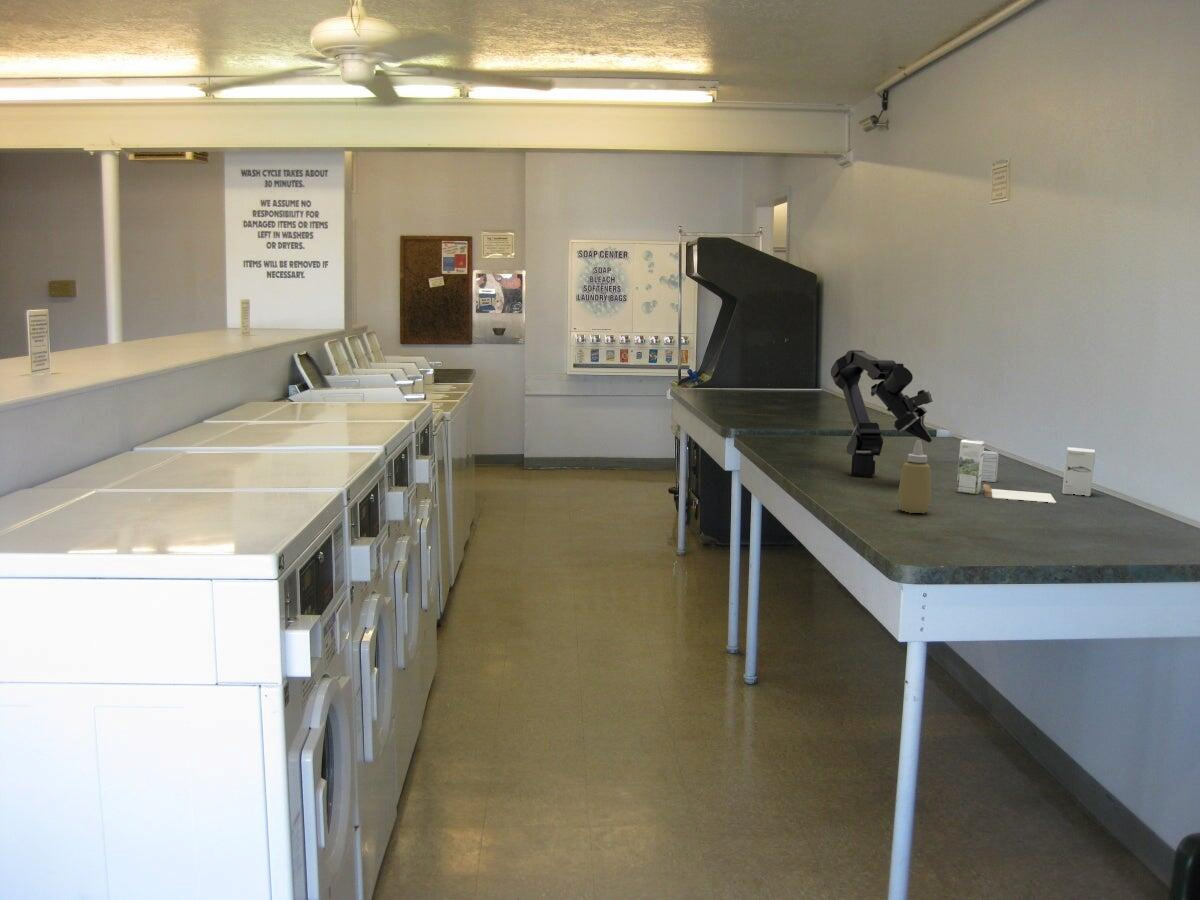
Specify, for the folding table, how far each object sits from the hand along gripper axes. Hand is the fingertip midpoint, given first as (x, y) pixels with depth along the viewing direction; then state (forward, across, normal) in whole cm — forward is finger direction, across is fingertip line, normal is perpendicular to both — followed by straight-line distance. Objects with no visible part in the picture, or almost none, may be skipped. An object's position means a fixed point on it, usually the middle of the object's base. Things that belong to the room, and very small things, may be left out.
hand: (930, 441), depth 303 cm
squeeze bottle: (+12, -39, +7) cm, 41 cm away
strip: (+21, +1, -2) cm, 21 cm away
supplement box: (+36, +18, -17) cm, 44 cm away
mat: (+27, +2, -8) cm, 28 cm away
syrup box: (+17, 0, +2) cm, 17 cm away
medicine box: (+18, +23, +1) cm, 29 cm away
